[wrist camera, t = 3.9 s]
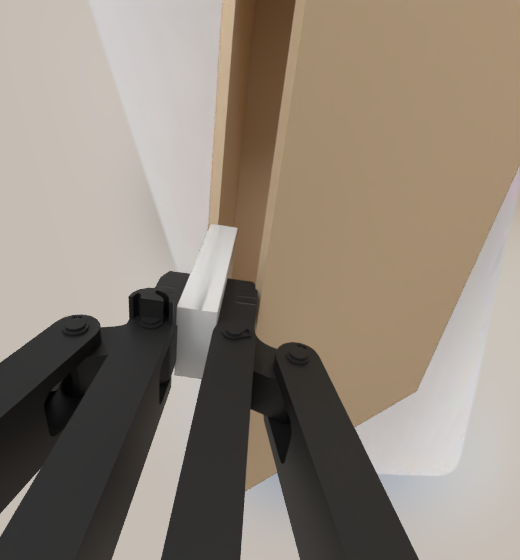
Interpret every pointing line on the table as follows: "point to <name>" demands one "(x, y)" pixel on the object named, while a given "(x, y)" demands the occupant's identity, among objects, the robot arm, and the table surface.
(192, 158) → the table surface
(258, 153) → the carton
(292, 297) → the carton lid
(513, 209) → the table surface
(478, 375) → the table surface
